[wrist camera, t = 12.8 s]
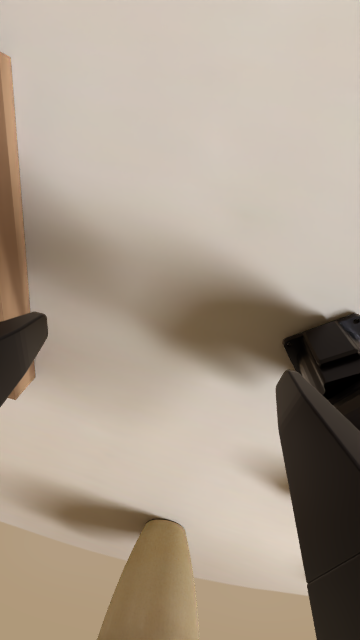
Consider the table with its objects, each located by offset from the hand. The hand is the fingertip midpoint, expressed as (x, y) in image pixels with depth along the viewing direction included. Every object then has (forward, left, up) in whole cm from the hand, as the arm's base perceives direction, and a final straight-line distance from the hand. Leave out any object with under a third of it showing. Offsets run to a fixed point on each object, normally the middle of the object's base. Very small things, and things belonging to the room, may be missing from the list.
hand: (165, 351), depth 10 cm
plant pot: (-42, +30, -13) cm, 53 cm away
